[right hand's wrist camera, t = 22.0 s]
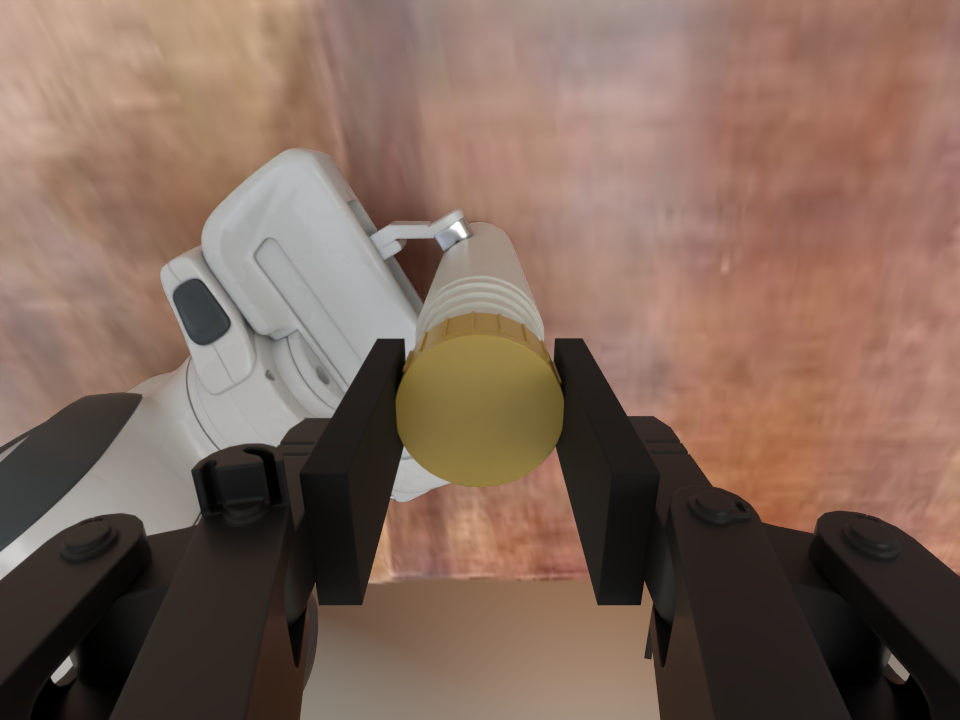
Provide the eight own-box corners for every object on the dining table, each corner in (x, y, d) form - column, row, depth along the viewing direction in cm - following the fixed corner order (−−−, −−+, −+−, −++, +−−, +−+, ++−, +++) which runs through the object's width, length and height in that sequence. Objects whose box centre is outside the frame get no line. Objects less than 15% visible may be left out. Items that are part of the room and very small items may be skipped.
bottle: (489, 207, 32) (505, 283, 12) (527, 266, 34) (599, 424, 13) (431, 248, 33) (355, 381, 13) (470, 304, 34) (458, 504, 14)
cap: (561, 309, 14) (573, 332, 12) (552, 450, 15) (562, 489, 13) (399, 309, 14) (387, 332, 12) (407, 450, 15) (397, 489, 13)
